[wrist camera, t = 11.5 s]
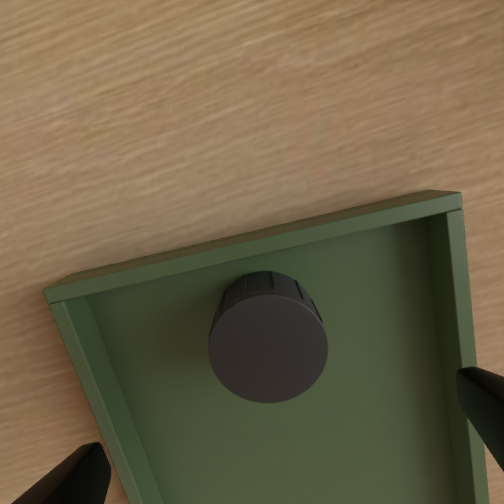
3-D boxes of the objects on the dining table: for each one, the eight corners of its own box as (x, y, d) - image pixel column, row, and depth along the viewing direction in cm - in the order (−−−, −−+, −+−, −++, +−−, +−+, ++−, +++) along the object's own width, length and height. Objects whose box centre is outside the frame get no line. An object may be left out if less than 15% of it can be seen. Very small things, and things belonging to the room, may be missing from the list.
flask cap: (318, 353, 14) (333, 396, 11) (225, 365, 14) (218, 410, 11) (308, 263, 13) (322, 286, 10) (209, 277, 13) (197, 303, 10)
